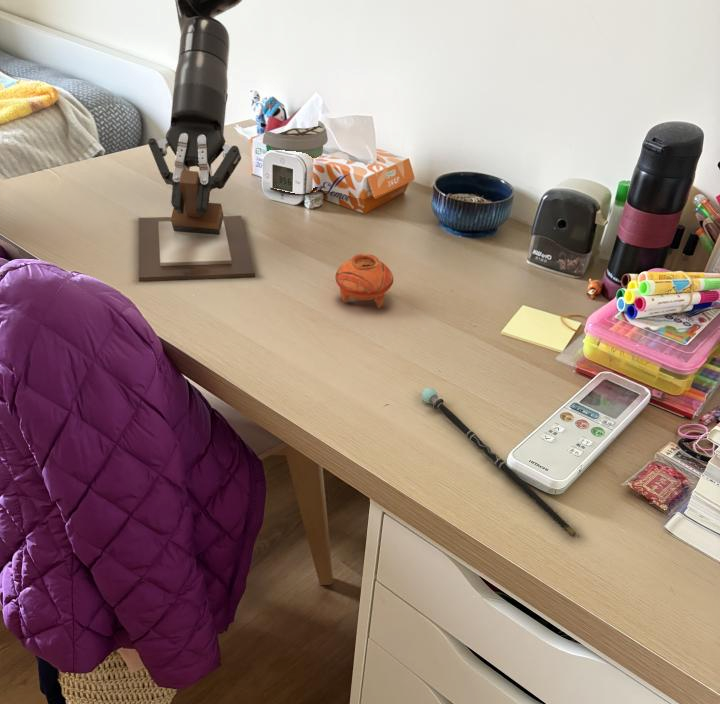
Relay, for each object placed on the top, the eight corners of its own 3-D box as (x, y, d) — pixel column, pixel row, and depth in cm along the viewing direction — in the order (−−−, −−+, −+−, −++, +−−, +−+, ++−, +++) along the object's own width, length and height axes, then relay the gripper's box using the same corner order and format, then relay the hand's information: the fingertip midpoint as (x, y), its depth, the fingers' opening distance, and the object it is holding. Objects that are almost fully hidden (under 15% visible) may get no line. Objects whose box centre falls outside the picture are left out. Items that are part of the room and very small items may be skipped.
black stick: (569, 544, 69) (566, 537, 68) (421, 399, 84) (416, 392, 82) (583, 532, 69) (580, 525, 68) (432, 389, 83) (428, 381, 82)
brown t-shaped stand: (173, 231, 108) (161, 185, 100) (178, 211, 110) (166, 164, 102) (219, 235, 108) (211, 189, 100) (223, 215, 110) (215, 168, 102)
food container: (283, 202, 123) (283, 141, 116) (263, 190, 126) (262, 130, 119) (339, 189, 129) (342, 130, 122) (319, 178, 132) (321, 120, 125)
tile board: (139, 281, 99) (137, 273, 98) (139, 221, 113) (138, 213, 112) (255, 276, 102) (254, 269, 101) (241, 219, 116) (240, 211, 116)
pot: (405, 296, 100) (405, 256, 95) (370, 327, 97) (368, 287, 92) (361, 275, 104) (358, 235, 98) (325, 304, 100) (321, 264, 95)
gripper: (144, 76, 100) (133, 197, 99) (244, 85, 100) (233, 206, 99) (159, 106, 107) (148, 219, 107) (251, 114, 107) (241, 227, 107)
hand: (189, 212), depth 103 cm, fingers closed on brown t-shaped stand, 2 cm apart
